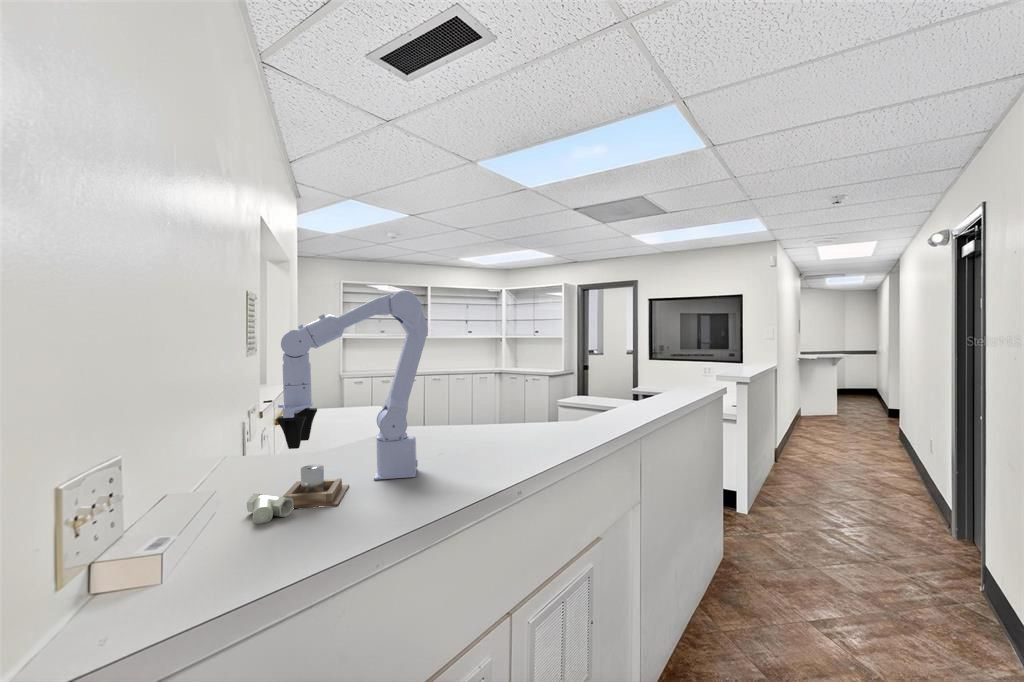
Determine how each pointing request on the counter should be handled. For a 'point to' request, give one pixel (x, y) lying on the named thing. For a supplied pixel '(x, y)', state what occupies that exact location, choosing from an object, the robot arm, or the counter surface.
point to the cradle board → (318, 494)
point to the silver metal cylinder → (312, 478)
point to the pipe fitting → (268, 507)
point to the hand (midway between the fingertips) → (299, 444)
